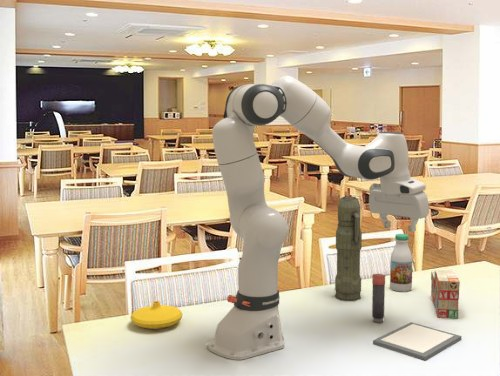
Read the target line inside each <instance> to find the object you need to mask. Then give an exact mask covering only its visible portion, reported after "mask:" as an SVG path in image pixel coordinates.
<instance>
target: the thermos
mask: <svg viewBox="0 0 500 376" xmlns="http://www.w3.org/2000/svg"><path fill="white" fill-rule="evenodd" d="M337 222H338V223H337V227H336V231H335V248H336V249H335V250H336V275H335V279H334V280H335V281H334V286H335V287H334V290H335V299H337V300H339V301H344V302H356V301H359V300H361V292H362V277H361V275H360V274H361V270H360V269H361V250H362V245H363V243H362V242H363V241H362V236H363V235H362V234H363V233H362V229H361V204H360V201H359V198H358V197H356V196H342V197H340V199H339V201H338V204H337Z"/></svg>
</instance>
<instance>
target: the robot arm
mask: <svg viewBox="0 0 500 376" xmlns="http://www.w3.org/2000/svg"><path fill="white" fill-rule="evenodd" d="M279 117H281V118H283V119H284V120H285V121H286V122H287V123H288V124H290V125H291V126H292V127H293V128H294V129H296V130H297V131H299V132H300V133H301V134H303V135H304V136H306V137H308V138H309V139H310V140H312V141H313V142H314V143H315V144H316V145H317V146H318V147H319V148H321V150H323V151H324V152H325V153H326V154H327V155H328V156H329V157H330V158H331V160H332V161H333V163H334V165H335V167H336V169H337V170H338V172H339V173H340V174H341V175H343V176H344V177H345V178H355V179H361V180H362V179H364V180H368V181H369V180H370V181H372V180H376V179H379V183H375V182H374V183H372V184H371V185H370V186H369V189H368V190H369V194H368V209H369V211H370V213H373V214H379V215H378V216H379V218H380V220H381V222H382V223H383V224H382V225H383V228H384V229H391V228H392V227H391V226H392V224H391V221H389V219H388V216H395V217H403V218H409V219H410V220H409V221H411V223H410V225H408V226H407V230H408V232H411V233H414V232H416V231H417V227H416V226H417V224H418V222H419V219H424V218H427V217H428V215H429V214H430V206H429V200H428V195H427V193H426V192H425V190H426V189H427V188H426V187H427V186H426V183H424V182H422V181H420V180H417V179H416V178H413V177H412V176H411V171H410V170H409V161H410V159H409V149H408V143H407V139H406V136H405V135H404V134H403V133H401V132H398V131H380V132H379V133H378V134H377V136H376V137H375V138H374V139H373V140H372V141H370V142H369V143H367V144H365V145H357V144H352V143H349V142H347V141H346V140H344V139H343V138H342V137H341V136H340V135H339V134H338V133H337V132H336V131H335V130H334V129H332V128H331V126H330V123H331V121H332V108H331V107H330V106H329V105H328V104H327V102H326V100H324V99H323V98H322V97H321V96H320V95H319V94H318V93H317V92H315V91H314V90H312V89H311V88H310V87H309V86H308V85H306V84H305V83H303V82H301V81H300V80H298V79H296V78H295V77H293V76H291V75H283V76H280V77H278V78H277V79H275V80H274V81H273V82H272V83H271V84H264V83H261V84H260V83H259V84H257V83H247V84H243V85H239V86H236V87H234V88H233V89H232V90H231V91H230V92H229V93H228V95H227V97H226V101H225V106H224V112H223V118H222V119H220V120H219V121H218V122H216V123H215V125H214V126H213V128H212V132H211V133H212V135H211V136H212V142H213V148H214V155H215V157H216V161H217V164H218V167H219V171H220V174H221V177H222V181H223V184H224V187H225V192H226V197H227V203H228V204H227V205H228V211H229V222H230V226H231V228H232V229H233V231H234V232H235V233H236V235H238V236H239V237H241V238H242V239H243V249H242V250H243V251H242V254H241V258H240V261H239V262H238V265H237V267H238V268H237V269H238V270H237V271H238V273H237V274H238V275H237V276H238V277H237V279H238V280H237V282H238V283H237V284H238V290H237V291H236V295H234V296H233V295H232V294H229V295H228V296H227V297H226V300H227V302H228V303H231V304H233V306H232V308H231V309H230V310H229V311H228V312H227V314H226V315H225V316H224V317H223V318H222V319H221V320H220V322H218V324H217V325H216V329H215V336H214V338H213V339H211V340H210V341H207V343H206V348H207V349H208V350H209V351H211V352H212V353H214V354H215V355H218V356H221V357H223V358H226V359H230V360H237V361H238V360H239V361H240V360H241V361H242V360H245V359H248V358H252V357H256V356H260V355H263V354H267V353H270V352H274V351H279V350H282V349H284V348H285V342H284V340H285V339H284V335H283V331H282V325H281V324H282V323H281V317H280V311H279V305H280V299H281V298H280V297H281V296H280V290H279V289H278V283H279V282H278V281H279V280H278V279H279V276H278V272H279V269H278V268H279V259H280V255H281V251H282V247H283V244H284V242H286V240H287V238H288V235H289V225H288V221H287V220H286V219H285V218H284V216H283V215H282V213H280V212H279V211H278V210H277V209H275V208H272V207H270V206H268V203H267V201H266V197H265V196H266V195H265V181H266V178H265V175H264V170H263V168H262V163H261V161H260V157H259V153H258V151H257V147H256V145H255V142H254V141H255V140H254V132H255V131H254V129H255V128H256V126H266V125H269V124H271V123H273V122H274V121H275V120H277V119H278V118H279Z"/></svg>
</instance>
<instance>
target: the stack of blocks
mask: <svg viewBox="0 0 500 376" xmlns="http://www.w3.org/2000/svg"><path fill="white" fill-rule="evenodd" d="M430 277H431V278H430V280H431V282H430V283H431V285H430V286H431V287H430V289H431V290H430V291H431V292H430V297H431V300H432V301H431V302H432V303H433V307H434V310H435V314H436V317H437V318H438V319H452V320H455V319H456V320H457V319H458V317H459V299H460V286H461V285H460V279H459V277H458V275H457V274H456V272H455V270H452V269H451V270H449V269H448V270H447V269H446V270H443V269H442V270H441V269H435V270H434V271H431V273H430Z"/></svg>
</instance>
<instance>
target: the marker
mask: <svg viewBox="0 0 500 376" xmlns="http://www.w3.org/2000/svg"><path fill="white" fill-rule="evenodd" d="M371 277H372V280H371V281H372V297H371V298H372V301H371V302H372V305H371V309H372V311H371V317H372V322H373V323H375V324H382V323H383V322H384V318H385V297H386V296H385V291H386V289H385V288H386V287H385V286H386V275H385V274H383V273H374V274H372V276H371Z"/></svg>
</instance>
